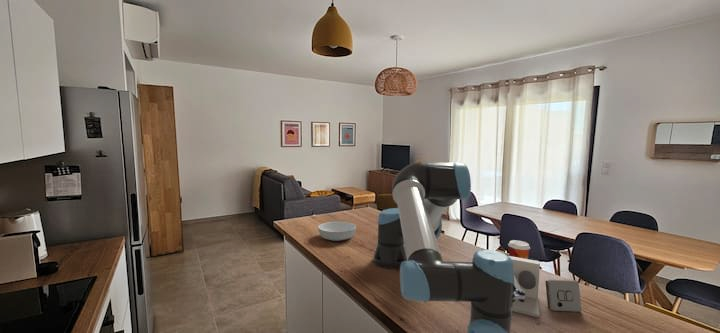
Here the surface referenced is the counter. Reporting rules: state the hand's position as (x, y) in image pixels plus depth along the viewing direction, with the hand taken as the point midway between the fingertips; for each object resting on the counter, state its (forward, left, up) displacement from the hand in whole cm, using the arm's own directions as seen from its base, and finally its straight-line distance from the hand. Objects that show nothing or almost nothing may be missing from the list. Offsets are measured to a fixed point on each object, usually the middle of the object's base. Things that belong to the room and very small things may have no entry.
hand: (501, 266), depth 90 cm
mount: (+5, +12, -16) cm, 21 cm away
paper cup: (+13, +31, -16) cm, 37 cm away
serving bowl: (-71, +57, -16) cm, 93 cm away
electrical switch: (+21, +11, -16) cm, 29 cm away
